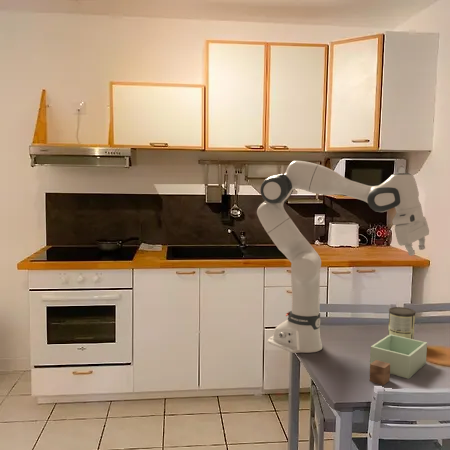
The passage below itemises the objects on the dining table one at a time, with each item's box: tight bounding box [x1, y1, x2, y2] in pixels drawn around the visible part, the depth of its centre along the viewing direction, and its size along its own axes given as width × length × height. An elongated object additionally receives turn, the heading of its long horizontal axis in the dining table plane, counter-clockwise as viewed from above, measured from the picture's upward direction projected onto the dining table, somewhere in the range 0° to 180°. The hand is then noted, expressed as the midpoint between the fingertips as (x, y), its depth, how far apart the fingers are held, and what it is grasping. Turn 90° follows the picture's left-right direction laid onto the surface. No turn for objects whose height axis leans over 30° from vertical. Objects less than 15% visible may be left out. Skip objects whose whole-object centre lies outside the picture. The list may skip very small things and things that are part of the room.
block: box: [368, 360, 391, 386], centre depth 161 cm, size 5×5×6 cm
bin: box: [369, 334, 428, 380], centre depth 174 cm, size 14×18×8 cm
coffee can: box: [387, 306, 416, 340], centre depth 197 cm, size 10×10×14 cm
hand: (417, 252), depth 176 cm, fingers open, 8 cm apart
